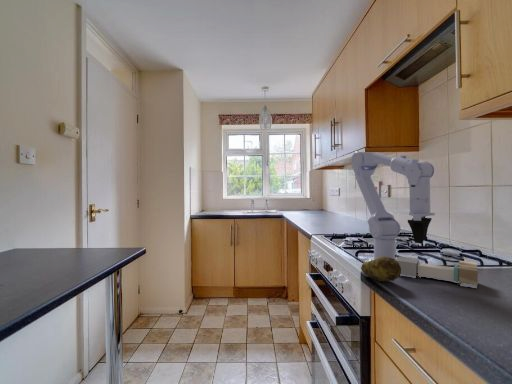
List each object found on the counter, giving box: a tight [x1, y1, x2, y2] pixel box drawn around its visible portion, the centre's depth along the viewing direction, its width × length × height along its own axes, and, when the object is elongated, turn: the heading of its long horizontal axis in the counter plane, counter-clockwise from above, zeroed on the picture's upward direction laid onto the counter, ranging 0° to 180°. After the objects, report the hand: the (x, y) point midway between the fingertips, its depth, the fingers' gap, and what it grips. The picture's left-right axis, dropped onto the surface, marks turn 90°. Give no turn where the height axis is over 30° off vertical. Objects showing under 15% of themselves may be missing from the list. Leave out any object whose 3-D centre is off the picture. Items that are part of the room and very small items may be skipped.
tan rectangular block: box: [458, 260, 479, 285], centre depth 78 cm, size 7×4×6 cm, turn 143°
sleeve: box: [396, 255, 420, 277], centre depth 87 cm, size 6×6×5 cm
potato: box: [360, 257, 401, 282], centre depth 81 cm, size 8×13×8 cm, turn 178°
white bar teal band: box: [417, 262, 459, 282], centre depth 82 cm, size 5×12×4 cm, turn 53°
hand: (420, 241), depth 88 cm, fingers open, 7 cm apart
